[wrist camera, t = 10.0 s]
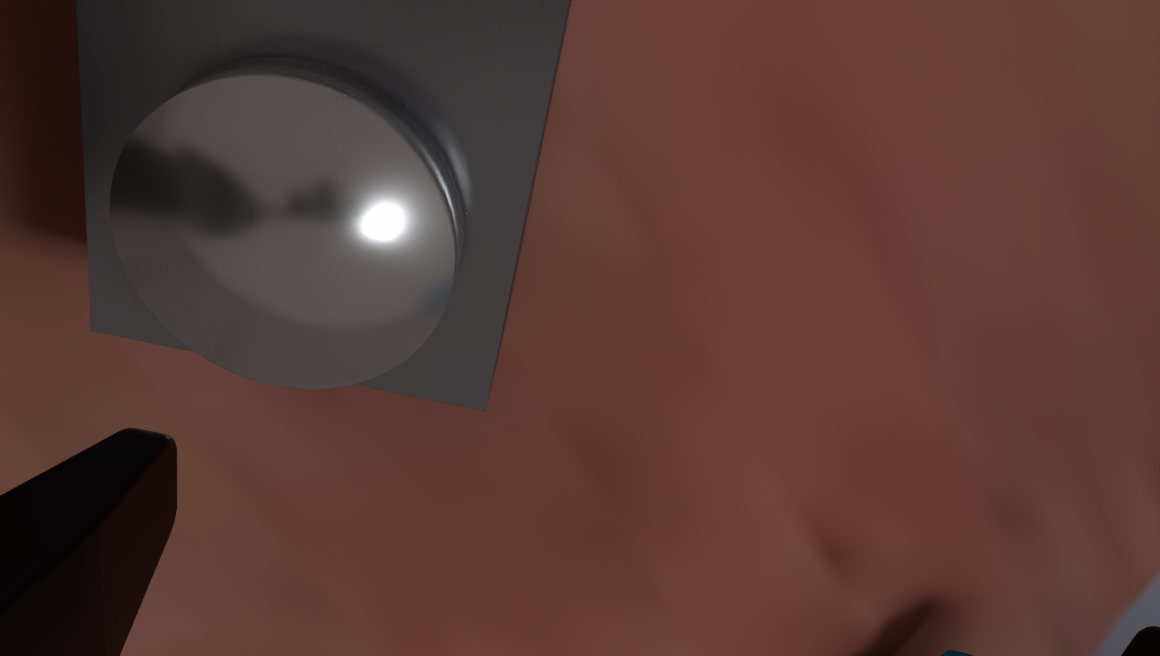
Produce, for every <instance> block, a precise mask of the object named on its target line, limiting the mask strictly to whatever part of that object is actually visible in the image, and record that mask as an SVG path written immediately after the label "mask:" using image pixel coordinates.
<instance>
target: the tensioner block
mask: <svg viewBox="0 0 1160 656" xmlns="http://www.w3.org/2000/svg"><path fill="white" fill-rule="evenodd" d="M570 5H571V0H76V16H77V37H78V59H79V81H80V102H81V124H82V145H83V167H84V189H85V210H86V232H87V253H88V275H89V297H90V318H91V331H95V332H100V333H105V334H110V335H115V336H120V337H125V338H130V339H134V340H139V341H144V342H149V343H154V344H159V345H164V346H169V347H174V348H178V349H183V350H188V351H193V352H196V353H197V354H199V355H201V356H202V357H204V358H206V359H207V360H209V361H211V362H212V363H214V364H216V365H218V366H220V367H222V368H224V369H226V370H228V371H230V372H233V373H235V374H238V375H241V376H243V377H246V378H249V379H251V380H255V381H259V382H263V383H266V384H270V385H275V386H281V387H288V388H296V389H327V388H337V387H343V386H348V385H353V384H354V385H359V386H364V387H369V388H374V389H378V390H383V391H388V392H393V393H398V394H403V395H408V396H413V397H417V398H422V399H427V400H432V401H437V402H442V403H447V404H452V405H457V406H461V407H466V408H471V409H476V410H481V411H486V407H487V403H488V399H489V394H490V390H491V386H492V381H493V377H494V373H495V368H496V364H497V360H498V355H499V351H500V346H501V342H502V338H503V333H504V328H505V323H506V319H507V314H508V309H509V304H510V299H511V294H512V289H513V284H514V279H515V274H516V270H517V265H518V260H519V255H520V250H521V245H522V240H523V235H524V230H525V225H526V221H527V216H528V211H529V206H530V201H531V196H532V191H533V186H534V181H535V176H536V172H537V167H538V162H539V157H540V152H541V147H542V142H543V137H544V132H545V128H546V123H547V118H548V113H549V108H550V103H551V98H552V93H553V88H554V83H555V79H556V74H557V69H558V64H559V59H560V54H561V49H562V44H563V39H564V34H565V30H566V25H567V20H568V15H569V10H570Z"/></svg>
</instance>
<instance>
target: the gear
mask: <svg viewBox="0 0 1160 656" xmlns="http://www.w3.org/2000/svg"><path fill="white" fill-rule="evenodd" d="M941 656H973V655H970V654H966V653H963V652H958V651H953V650H948V651H946V652H945V653H944V654H942V655H941Z"/></svg>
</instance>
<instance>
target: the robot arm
mask: <svg viewBox="0 0 1160 656" xmlns="http://www.w3.org/2000/svg"><path fill="white" fill-rule="evenodd" d="M176 510H177V447H176V444H175V440H174V439H173V438H172V437H171V436H169V435H167V434H162V433H157V432H152V431H147V430H141V429H136V428H127V429H123V430H121V431H119V432H117V433H115V434H113V435H111V436H109V437H108V438H106V439H104V440H102V441H100V442H98V443H96V444H95V445H93V446H91V447H89V448H87V449H85V450H84V451H82V452H80V453H78V454H76V455H74V456H72V457H71V458H69V459H67V460H65V461H63V462H61V463H60V464H58V465H56V466H54V467H52V468H50V469H49V470H47V471H45V472H43V473H41V474H39V475H37V476H36V477H34V478H32V479H30V480H28V481H26V482H25V483H23V484H21V485H19V486H17V487H15V488H13V489H12V490H10V491H8V492H6V493H4V494H2V495H1V496H0V656H120V654H121V651H122V649H123V646H124V644H125V642H126V639H127V637H128V634H129V632H130V630H131V627H132V625H133V622H134V620H135V618H136V615H137V613H138V610H139V608H140V606H141V603H142V601H143V598H144V596H145V593H146V591H147V589H148V586H149V584H150V581H151V579H152V577H153V574H154V572H155V569H156V567H157V565H158V562H159V560H160V557H161V555H162V553H163V550H164V548H165V545H166V543H167V541H168V538H169V536H170V533H171V531H172V528H173V524H174V521H175V516H176ZM1121 656H1160V627H1156V626H1151V627H1146V628H1145V629H1142V630H1140V631H1139V632H1138V633H1137V634H1136V635H1135V637H1134V638H1133V639H1132V641H1131V642H1130V644H1129V645H1128V646H1127V648H1126V650H1125V651H1124V652H1123V654H1122V655H1121Z"/></svg>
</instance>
